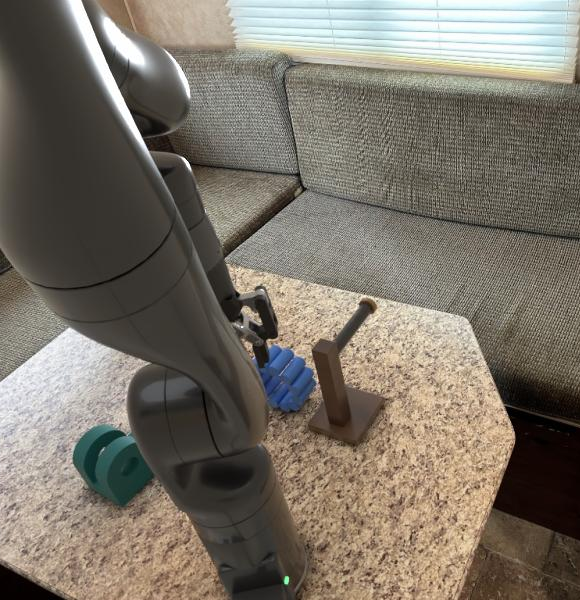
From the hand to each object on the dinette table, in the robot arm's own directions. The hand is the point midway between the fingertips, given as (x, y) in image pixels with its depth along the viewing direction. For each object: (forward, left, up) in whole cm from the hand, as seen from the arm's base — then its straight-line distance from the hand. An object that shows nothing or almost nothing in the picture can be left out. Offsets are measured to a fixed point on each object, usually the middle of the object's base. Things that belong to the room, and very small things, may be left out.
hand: (226, 370), depth 71 cm
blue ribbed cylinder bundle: (+11, -4, -18) cm, 22 cm away
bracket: (+7, +15, -19) cm, 25 cm away
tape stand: (+8, -14, -18) cm, 25 cm away
